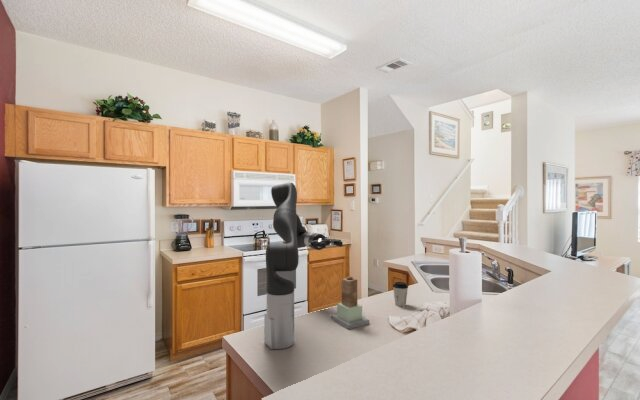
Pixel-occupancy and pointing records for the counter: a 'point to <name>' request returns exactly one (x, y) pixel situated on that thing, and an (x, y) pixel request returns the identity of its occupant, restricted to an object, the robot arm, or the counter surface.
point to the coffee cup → (400, 293)
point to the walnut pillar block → (349, 291)
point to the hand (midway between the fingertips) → (333, 244)
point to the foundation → (349, 316)
